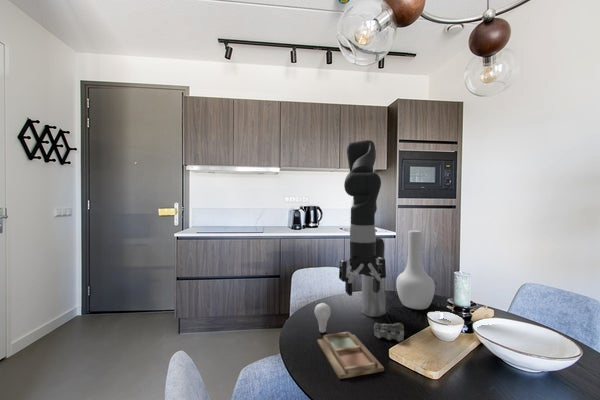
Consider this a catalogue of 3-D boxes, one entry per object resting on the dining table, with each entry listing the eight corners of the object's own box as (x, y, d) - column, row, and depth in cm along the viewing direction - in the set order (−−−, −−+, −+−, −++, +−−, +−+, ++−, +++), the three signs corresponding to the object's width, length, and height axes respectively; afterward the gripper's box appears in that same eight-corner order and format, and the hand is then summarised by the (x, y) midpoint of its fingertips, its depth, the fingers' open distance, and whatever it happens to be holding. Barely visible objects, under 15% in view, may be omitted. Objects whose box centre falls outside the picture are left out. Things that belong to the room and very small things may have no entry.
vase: (398, 310, 122) (398, 232, 122) (394, 296, 139) (394, 228, 138) (439, 313, 119) (439, 233, 118) (429, 299, 135) (429, 229, 134)
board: (354, 337, 99) (353, 330, 99) (383, 371, 80) (383, 362, 80) (317, 342, 96) (317, 335, 96) (339, 379, 76) (339, 370, 76)
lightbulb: (330, 337, 99) (329, 307, 99) (313, 335, 100) (313, 306, 100) (331, 329, 105) (331, 301, 105) (315, 328, 106) (315, 300, 106)
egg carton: (404, 334, 102) (404, 323, 102) (403, 344, 95) (403, 332, 95) (375, 328, 106) (375, 318, 106) (372, 337, 99) (372, 326, 99)
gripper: (377, 236, 87) (377, 287, 87) (335, 238, 83) (335, 291, 83) (390, 240, 79) (390, 295, 79) (345, 242, 76) (345, 300, 76)
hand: (362, 293), depth 81 cm, fingers open, 8 cm apart
